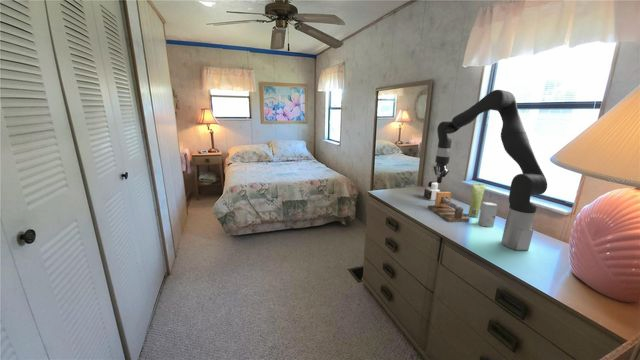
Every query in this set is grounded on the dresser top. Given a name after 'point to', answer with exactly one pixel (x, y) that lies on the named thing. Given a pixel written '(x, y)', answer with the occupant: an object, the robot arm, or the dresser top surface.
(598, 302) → the dresser top surface
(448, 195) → the collar
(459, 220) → the pipe stand
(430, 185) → the medicine bottle
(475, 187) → the tube
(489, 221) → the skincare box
